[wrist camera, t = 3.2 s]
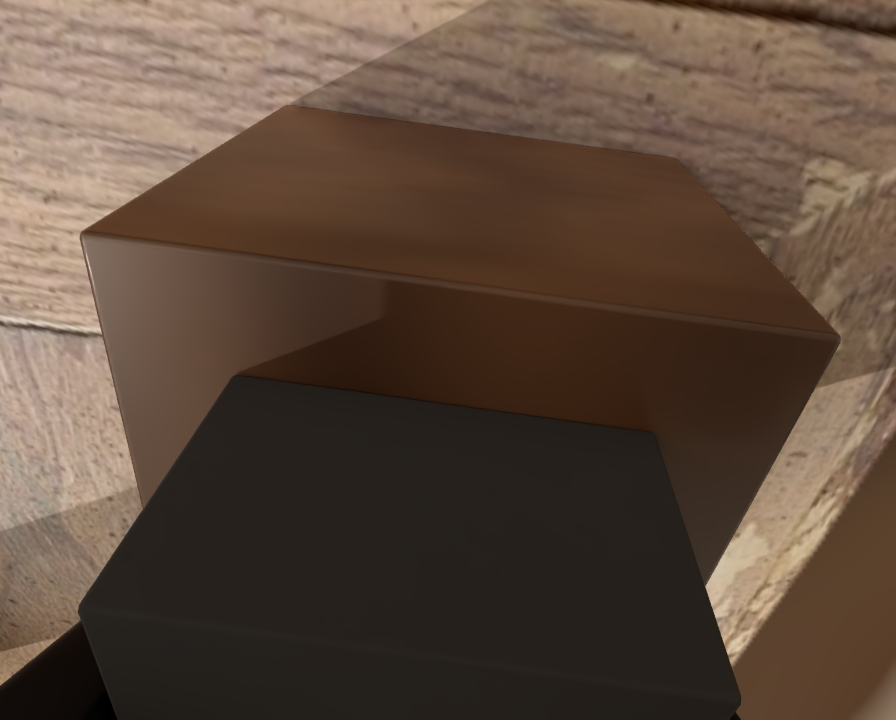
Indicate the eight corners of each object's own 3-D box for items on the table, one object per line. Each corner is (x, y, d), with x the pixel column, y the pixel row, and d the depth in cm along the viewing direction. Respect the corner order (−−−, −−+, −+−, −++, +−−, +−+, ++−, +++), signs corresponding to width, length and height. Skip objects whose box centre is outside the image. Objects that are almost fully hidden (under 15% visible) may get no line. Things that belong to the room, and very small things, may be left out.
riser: (678, 157, 14) (846, 337, 7) (584, 453, 19) (629, 726, 12) (284, 104, 14) (75, 231, 7) (294, 414, 19) (176, 664, 12)
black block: (656, 430, 8) (747, 702, 5) (563, 667, 11) (585, 922, 8) (232, 372, 8) (71, 608, 5) (257, 624, 11) (167, 863, 8)
